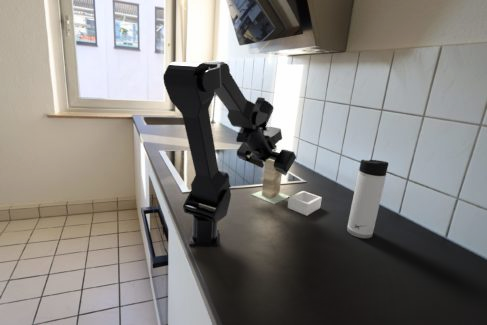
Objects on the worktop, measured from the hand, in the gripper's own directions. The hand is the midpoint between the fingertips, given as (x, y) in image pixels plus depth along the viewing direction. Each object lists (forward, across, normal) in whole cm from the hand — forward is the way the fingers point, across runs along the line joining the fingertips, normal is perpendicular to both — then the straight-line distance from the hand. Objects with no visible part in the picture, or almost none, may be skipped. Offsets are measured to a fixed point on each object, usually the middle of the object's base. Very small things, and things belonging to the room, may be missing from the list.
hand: (274, 170), depth 92 cm
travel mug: (+6, -30, +7) cm, 31 cm away
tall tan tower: (+6, 0, +6) cm, 9 cm away
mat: (+6, 0, +6) cm, 9 cm away
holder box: (+7, -12, +6) cm, 15 cm away
